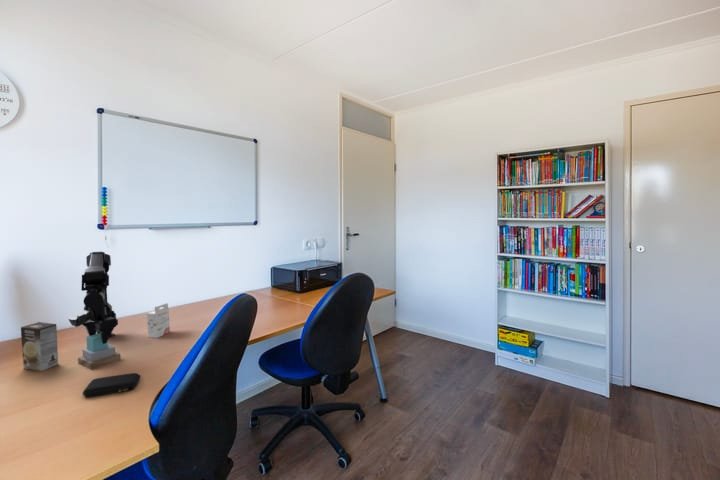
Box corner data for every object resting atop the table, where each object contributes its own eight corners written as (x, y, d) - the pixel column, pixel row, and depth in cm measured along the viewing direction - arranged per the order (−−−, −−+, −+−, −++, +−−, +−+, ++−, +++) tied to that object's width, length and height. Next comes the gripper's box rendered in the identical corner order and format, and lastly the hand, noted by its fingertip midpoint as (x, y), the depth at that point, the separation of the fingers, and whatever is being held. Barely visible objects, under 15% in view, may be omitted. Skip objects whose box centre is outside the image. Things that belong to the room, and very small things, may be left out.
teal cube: (87, 349, 133) (86, 336, 132) (101, 344, 137) (101, 332, 137) (93, 351, 130) (92, 339, 130) (108, 347, 135) (107, 334, 134)
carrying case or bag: (79, 402, 106) (135, 393, 111) (78, 393, 105) (134, 384, 111) (91, 386, 115) (141, 378, 121) (90, 377, 115) (141, 370, 121)
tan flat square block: (78, 365, 132) (77, 357, 132) (107, 356, 141) (107, 348, 141) (91, 371, 127) (90, 363, 127) (120, 361, 136) (120, 353, 136)
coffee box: (22, 368, 127) (19, 327, 126) (41, 361, 134) (38, 321, 132) (41, 371, 125) (38, 328, 124) (59, 363, 132) (57, 323, 131)
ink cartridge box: (161, 331, 169) (160, 302, 168) (170, 332, 168) (169, 302, 167) (147, 337, 160) (146, 306, 159) (156, 338, 159) (155, 307, 158)
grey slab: (83, 356, 133) (82, 349, 133) (106, 349, 140) (106, 342, 139) (91, 361, 128) (90, 354, 128) (115, 354, 135) (115, 347, 135)
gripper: (59, 304, 130) (61, 343, 131) (83, 310, 121) (85, 353, 122) (93, 297, 140) (95, 334, 141) (117, 303, 131) (119, 343, 132)
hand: (98, 341), depth 134 cm, fingers open, 9 cm apart
